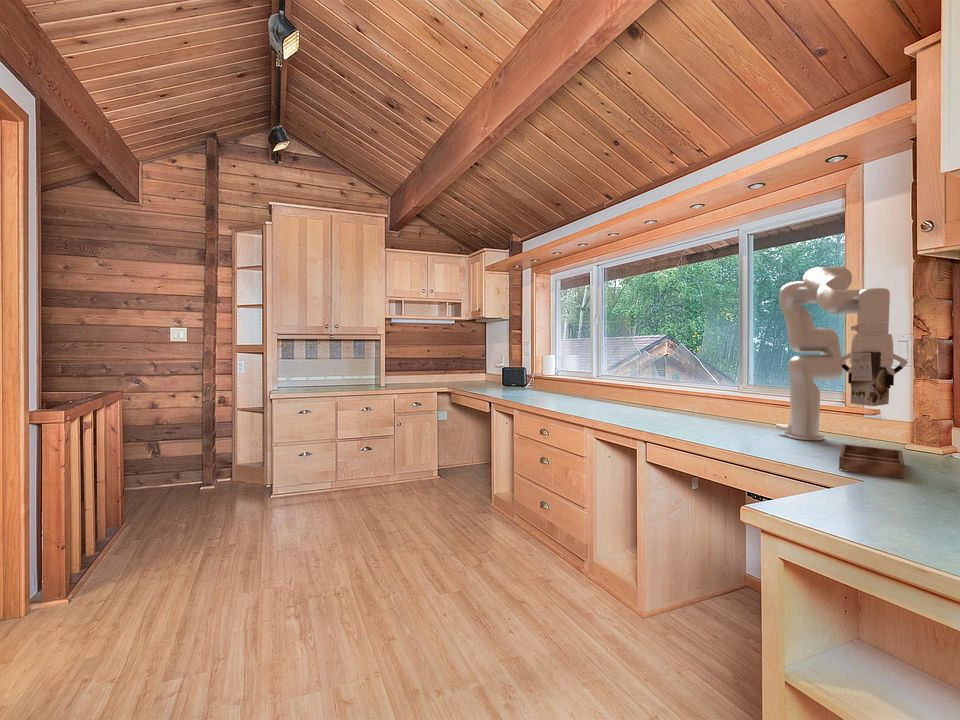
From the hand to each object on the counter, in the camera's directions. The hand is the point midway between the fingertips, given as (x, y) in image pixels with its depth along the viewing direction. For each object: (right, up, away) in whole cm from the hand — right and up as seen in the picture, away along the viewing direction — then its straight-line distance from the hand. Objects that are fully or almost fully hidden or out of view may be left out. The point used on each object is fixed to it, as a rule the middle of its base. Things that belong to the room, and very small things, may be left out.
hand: (870, 386), depth 150 cm
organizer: (-1, -24, -1) cm, 24 cm away
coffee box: (0, -6, 0) cm, 6 cm away
